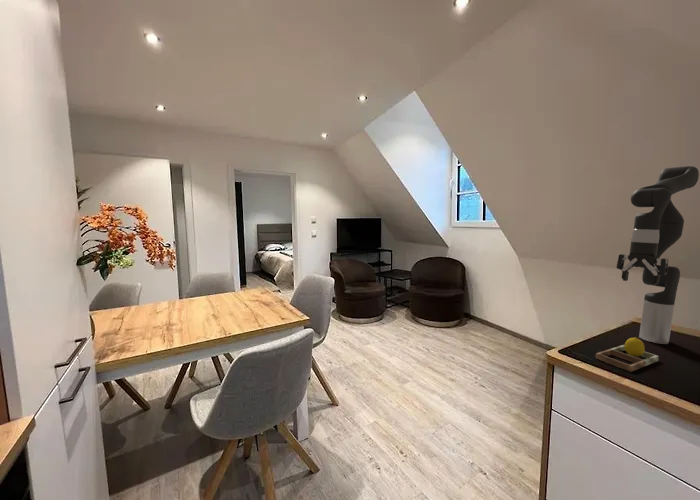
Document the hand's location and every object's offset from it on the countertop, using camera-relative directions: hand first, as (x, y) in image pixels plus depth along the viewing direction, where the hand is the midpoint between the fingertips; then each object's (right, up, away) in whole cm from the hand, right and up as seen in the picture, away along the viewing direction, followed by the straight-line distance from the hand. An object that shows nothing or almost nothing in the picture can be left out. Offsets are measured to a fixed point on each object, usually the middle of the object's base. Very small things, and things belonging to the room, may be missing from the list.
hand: (639, 282), depth 116 cm
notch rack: (-8, -29, -4) cm, 30 cm away
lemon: (-4, -29, -2) cm, 29 cm away
